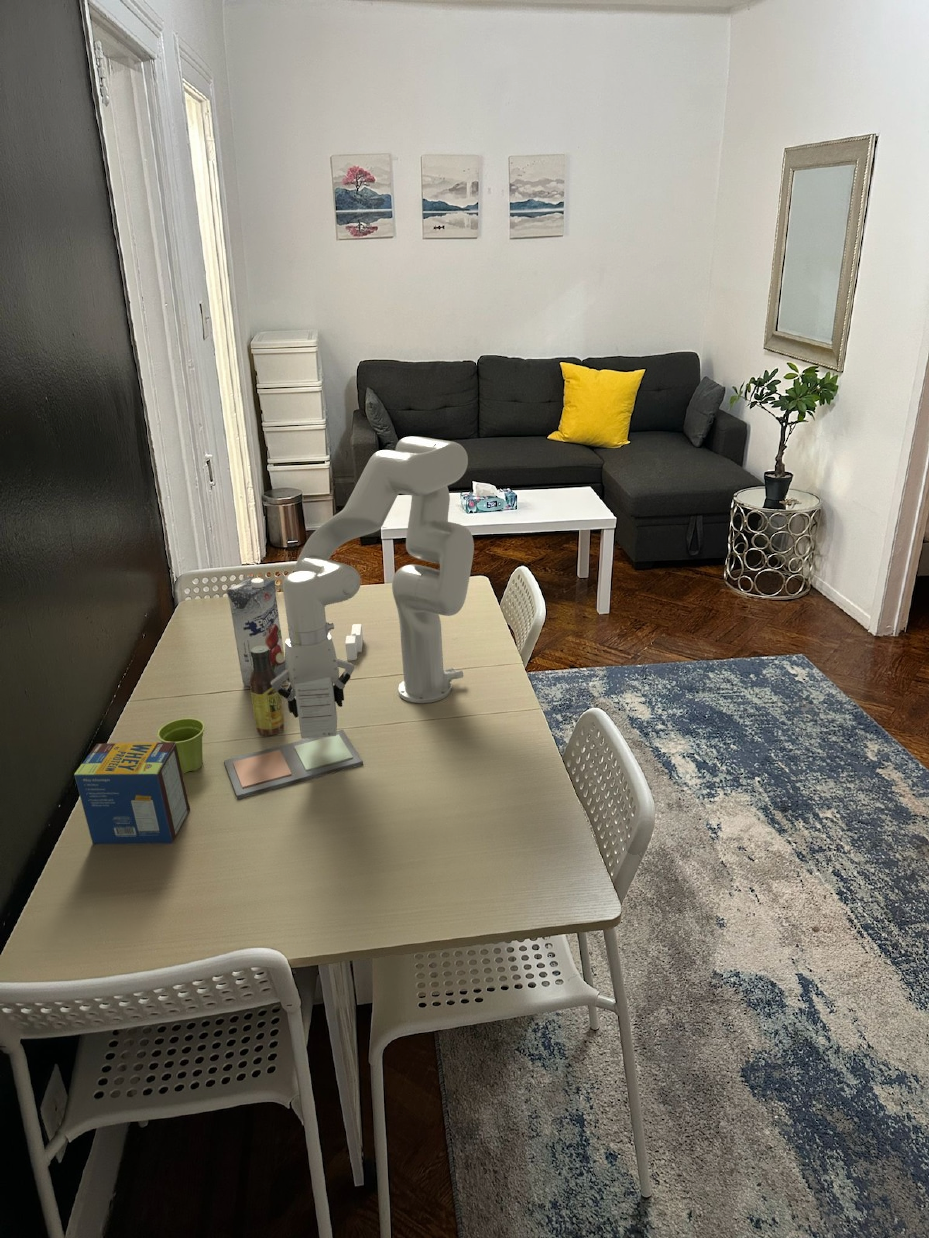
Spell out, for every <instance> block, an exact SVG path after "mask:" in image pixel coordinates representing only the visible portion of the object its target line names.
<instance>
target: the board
mask: <svg viewBox="0 0 929 1238" xmlns="http://www.w3.org/2000/svg"><path fill="white" fill-rule="evenodd" d="M223 763H224V766H225V769H226V772H227V775H228V778H229V779H230V783H231V786H232V787H233V791H234V794H235V796H236V799H238V800H239V799H242V798H246V797H251V796H253V795H257V794H261V793H264V792H268V791H271V790H275V789H279V788H282V787H285V786H289V785H290V786H291V785H295V784H297V783H300V782H304V781H308V780H311V779H315V778H319V777H323V776H325V775H330V774H334V773H337V772H340V771H344V770H348V769H351V768H355V767H359V766H362V765H364V761H363V759H362V757H361V756H360V755H359V753H358V751H357V750H356V748H355V747H354V745H353V743H352V742H351V740H350V738H349V736H348V735H347V733H346V732H345V730H344V729H340V730H337V733H336V736H330V737H318V738H304V739H301V740H298V741H297V740H296V741H293V742H290V743H285V744H282V745H277V746H273V747H270V748H265V749H262V750H259V751H255V752H251V753H247V754H243V755H239V756H234V757H231V758H227V759H223Z"/></svg>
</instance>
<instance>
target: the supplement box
mask: <svg viewBox="0 0 929 1238" xmlns="http://www.w3.org/2000/svg"><path fill="white" fill-rule="evenodd" d="M333 686H334V683H333V682H331V677H327V678H322V679H318V680H314V681H309V682H305V683H300V684H296V685H294V687H295V695H296V696H295V699H296V703H297V711H298V717H297V718H298V723H299V732H300V733H299V734H300V738H301V740H304V739H308V738H318V737H330V736H336V733H337V731H338V714H337V713H338V712H337V703H336V702H335V695H334V687H333Z"/></svg>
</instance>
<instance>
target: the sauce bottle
mask: <svg viewBox="0 0 929 1238" xmlns="http://www.w3.org/2000/svg"><path fill="white" fill-rule="evenodd" d="M250 652H251V656H252V660H253V668H254V669H253V672H252V674H251V676H250V685H251V687H250V694H251V695H250V696H251V703H252V709H253V716H254V723H255V724H254V725H255V727H256V731H257V733H258V734H259V735H262V736H274V735H277V734H280V733H281V732H282V731H283V730H284V726H285V725H284V724H285V719H284V711H283V710H284V709H283V703H282V696H281V695H280V694H279V693H278V692H277V691H276V690H275V689H274V688H273V687H272V685H271V681H272V680H273V679H275V678H276V677H277V676H276V674H275V672H274V670H273V668H272V667H271V663H270V650H269V647H267V646H264V645H261V646H256V647H253V648H252V649H251V650H250Z"/></svg>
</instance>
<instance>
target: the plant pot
mask: <svg viewBox="0 0 929 1238" xmlns="http://www.w3.org/2000/svg"><path fill="white" fill-rule="evenodd" d="M205 730H206V729H205V723H204V722H203V721H202V720H200V719H199V718H198V719H197V718H192V717H185V718H178V719H174V720H172V721H169V722H167V723H165V724H164V725H162V727H160V728H159V729H158V732H157V738H158V740H159V741H161V742H175V743H176V746H177V751H178V756H179V760H180V765H181V770H182V774H186V773H187V772H191V771H192V772H194V771H197V769H199V768H200V767H202V765H203V760H204V759H203V736H204V732H205ZM161 742H160V743H161Z"/></svg>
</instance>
